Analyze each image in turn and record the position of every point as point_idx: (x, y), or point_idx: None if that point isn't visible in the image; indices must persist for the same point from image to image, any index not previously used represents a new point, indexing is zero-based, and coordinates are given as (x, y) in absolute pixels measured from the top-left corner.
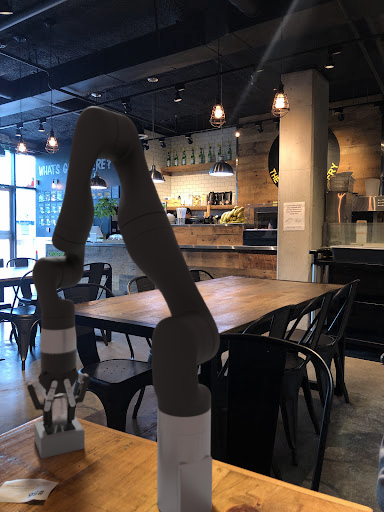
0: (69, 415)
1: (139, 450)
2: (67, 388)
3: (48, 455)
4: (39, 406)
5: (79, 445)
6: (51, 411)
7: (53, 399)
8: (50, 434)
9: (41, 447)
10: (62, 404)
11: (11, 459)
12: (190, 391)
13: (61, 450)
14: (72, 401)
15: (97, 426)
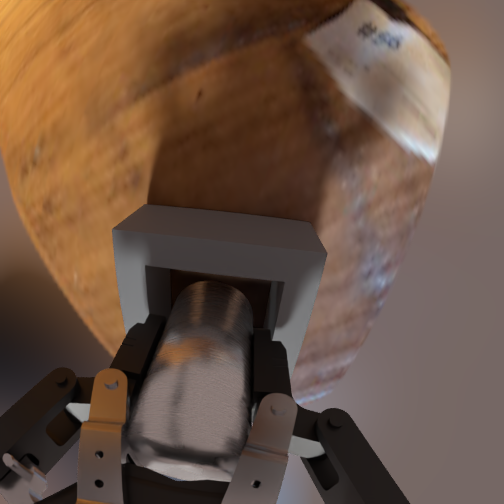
0: (150, 340)
1: (22, 116)
2: (107, 490)
3: (283, 220)
4: (328, 426)
5: (157, 210)
6: (247, 388)
7: (234, 452)
8: None
9: (317, 237)
10: (173, 399)
11: (379, 277)
12: None
13: (231, 216)
14: (106, 395)
15: (89, 322)
